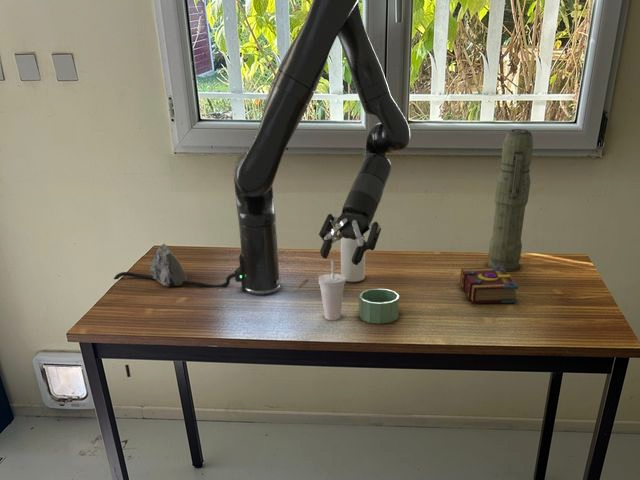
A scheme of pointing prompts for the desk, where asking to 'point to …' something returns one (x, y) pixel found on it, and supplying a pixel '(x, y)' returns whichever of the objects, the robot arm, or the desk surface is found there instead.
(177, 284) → the mineral rock
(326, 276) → the smoothie
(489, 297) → the decorative book
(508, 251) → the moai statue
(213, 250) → the desk surface
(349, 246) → the can
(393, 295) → the holder
